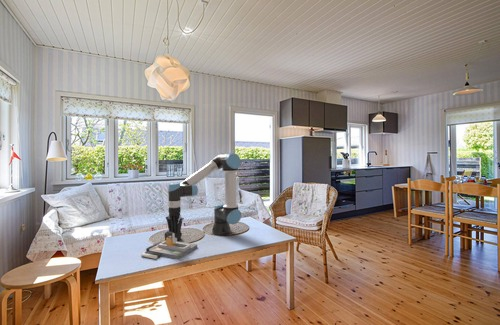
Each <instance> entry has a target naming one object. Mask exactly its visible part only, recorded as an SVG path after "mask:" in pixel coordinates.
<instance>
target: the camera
mask: <svg viewBox="0 0 500 325" xmlns="http://www.w3.org/2000/svg"><path fill="white" fill-rule="evenodd" d="M182 235H183V233H182V230H181V231H180V232H178V237H177V241H178V240H180V239H181V238H182ZM169 236H172V233H171V232H170V231H169V230H168V231H166V232H164V241H166V238H168V237H169Z"/></svg>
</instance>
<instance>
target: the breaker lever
mask: <svg viewBox="0 0 500 325" xmlns="http://www.w3.org/2000/svg"><path fill="white" fill-rule="evenodd" d="M166 245H170V246H176V243H173V241H172V236H169V237H168V238H166Z"/></svg>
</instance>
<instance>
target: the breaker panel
mask: <svg viewBox="0 0 500 325" xmlns="http://www.w3.org/2000/svg"><path fill="white" fill-rule="evenodd" d="M161 242H162V243H160V244H158V247H156V248H154V249H152V250H150V251H149V252H152V253H157V254H160V255H161V256H160V257H165V258H171V259H175V260H176V259H177V260H179V259H181V258H183V257H184V256H186V255H187V254H189V253H190V252H192V251H194V250H196V249H197V248H198V244H197V243H191V242H184V241H178V240H177V242H176V246H170V245H166V241H165V240H164V241H161Z"/></svg>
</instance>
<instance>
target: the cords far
mask: <svg viewBox="0 0 500 325" xmlns="http://www.w3.org/2000/svg"><path fill="white" fill-rule="evenodd" d="M140 256H141V257H142V258H149V259H154V260H157V259H158V258H160V257H162V256H161V255H160V254H157V253H152V252H150V251H145V252H142V253H141V255H140Z"/></svg>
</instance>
